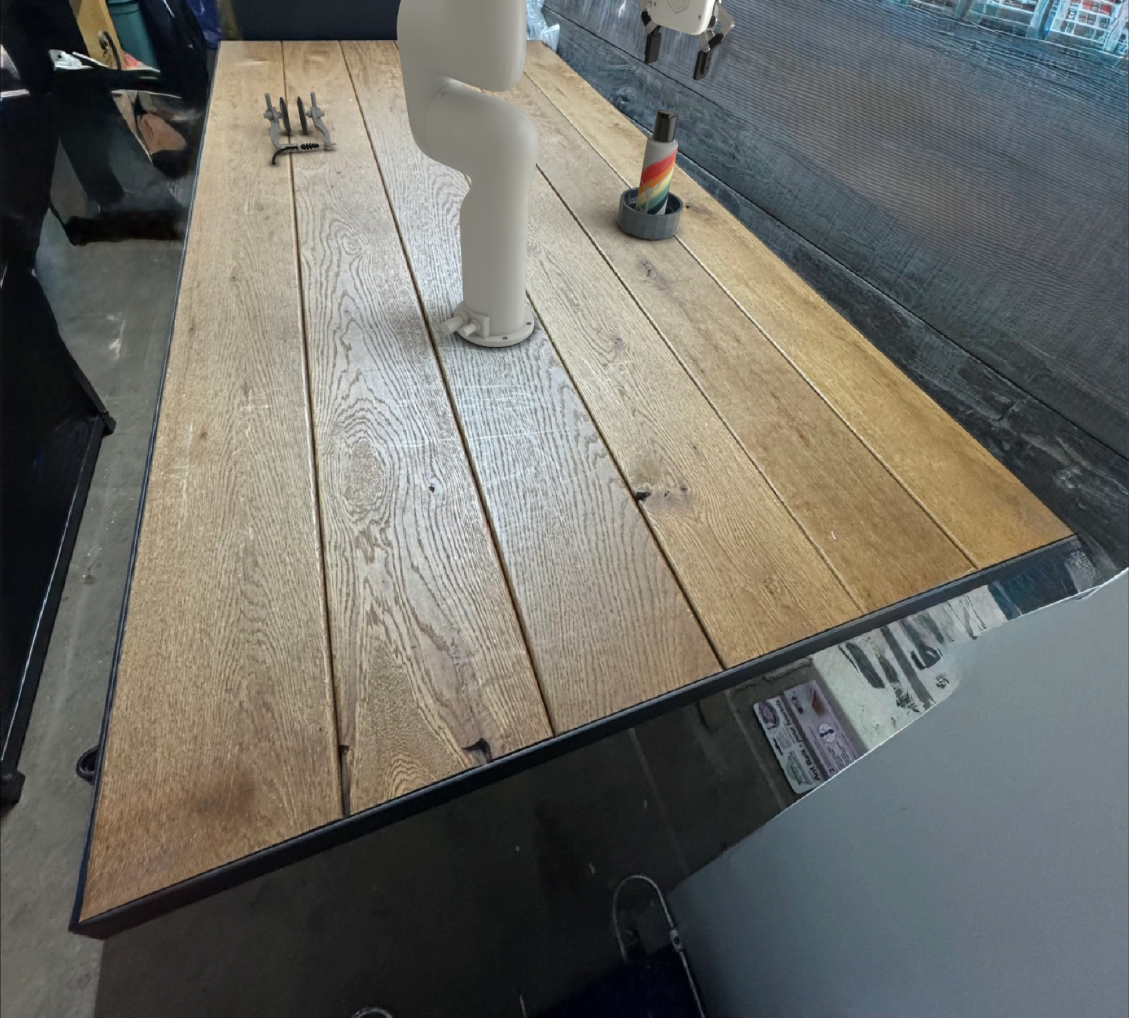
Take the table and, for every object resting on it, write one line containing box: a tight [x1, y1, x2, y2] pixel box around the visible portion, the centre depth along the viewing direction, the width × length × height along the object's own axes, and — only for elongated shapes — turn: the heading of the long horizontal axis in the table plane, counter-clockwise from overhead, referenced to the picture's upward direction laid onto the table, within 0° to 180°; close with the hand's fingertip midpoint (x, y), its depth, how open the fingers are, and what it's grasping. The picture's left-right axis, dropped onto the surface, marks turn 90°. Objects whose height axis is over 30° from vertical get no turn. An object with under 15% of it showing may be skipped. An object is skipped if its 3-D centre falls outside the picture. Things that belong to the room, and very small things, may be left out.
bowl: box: [616, 186, 684, 241], centre depth 127 cm, size 12×12×5 cm
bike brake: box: [262, 91, 337, 166], centre depth 139 cm, size 14×7×20 cm
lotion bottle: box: [635, 109, 679, 215], centre depth 121 cm, size 6×6×20 cm
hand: (674, 70), depth 108 cm, fingers open, 9 cm apart
